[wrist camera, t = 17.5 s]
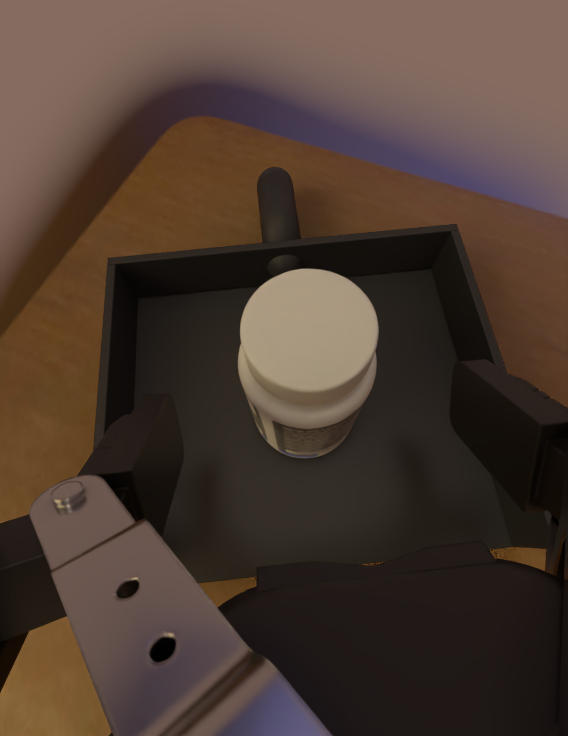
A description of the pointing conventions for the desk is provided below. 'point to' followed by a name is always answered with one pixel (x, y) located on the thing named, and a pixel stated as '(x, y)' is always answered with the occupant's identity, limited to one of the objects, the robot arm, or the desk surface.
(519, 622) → the robot arm
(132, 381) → the dustpan
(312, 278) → the pill bottle
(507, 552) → the desk surface
